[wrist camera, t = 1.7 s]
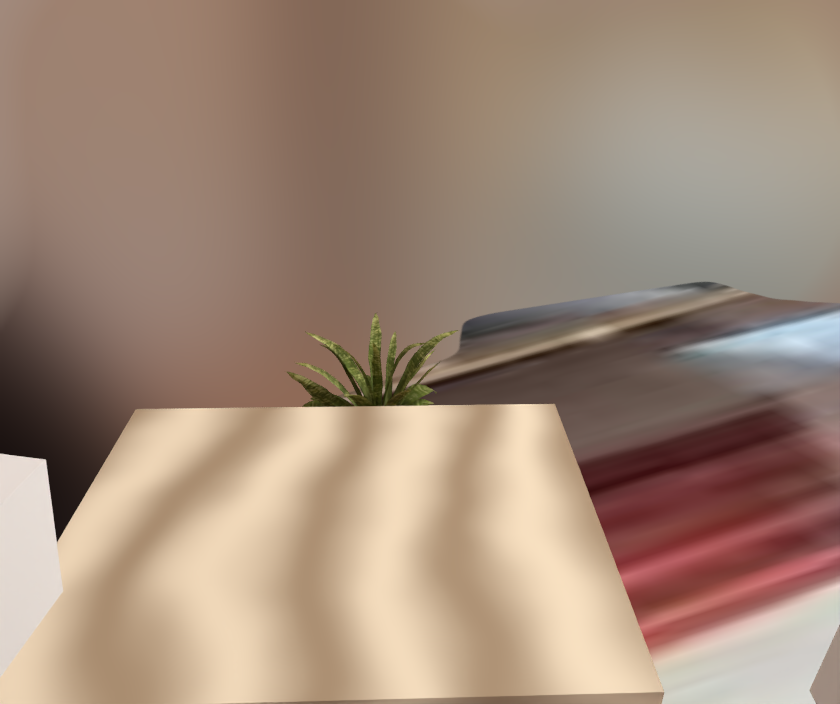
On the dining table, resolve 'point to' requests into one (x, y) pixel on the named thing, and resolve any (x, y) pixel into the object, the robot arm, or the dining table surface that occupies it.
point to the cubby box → (337, 566)
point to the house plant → (372, 375)
